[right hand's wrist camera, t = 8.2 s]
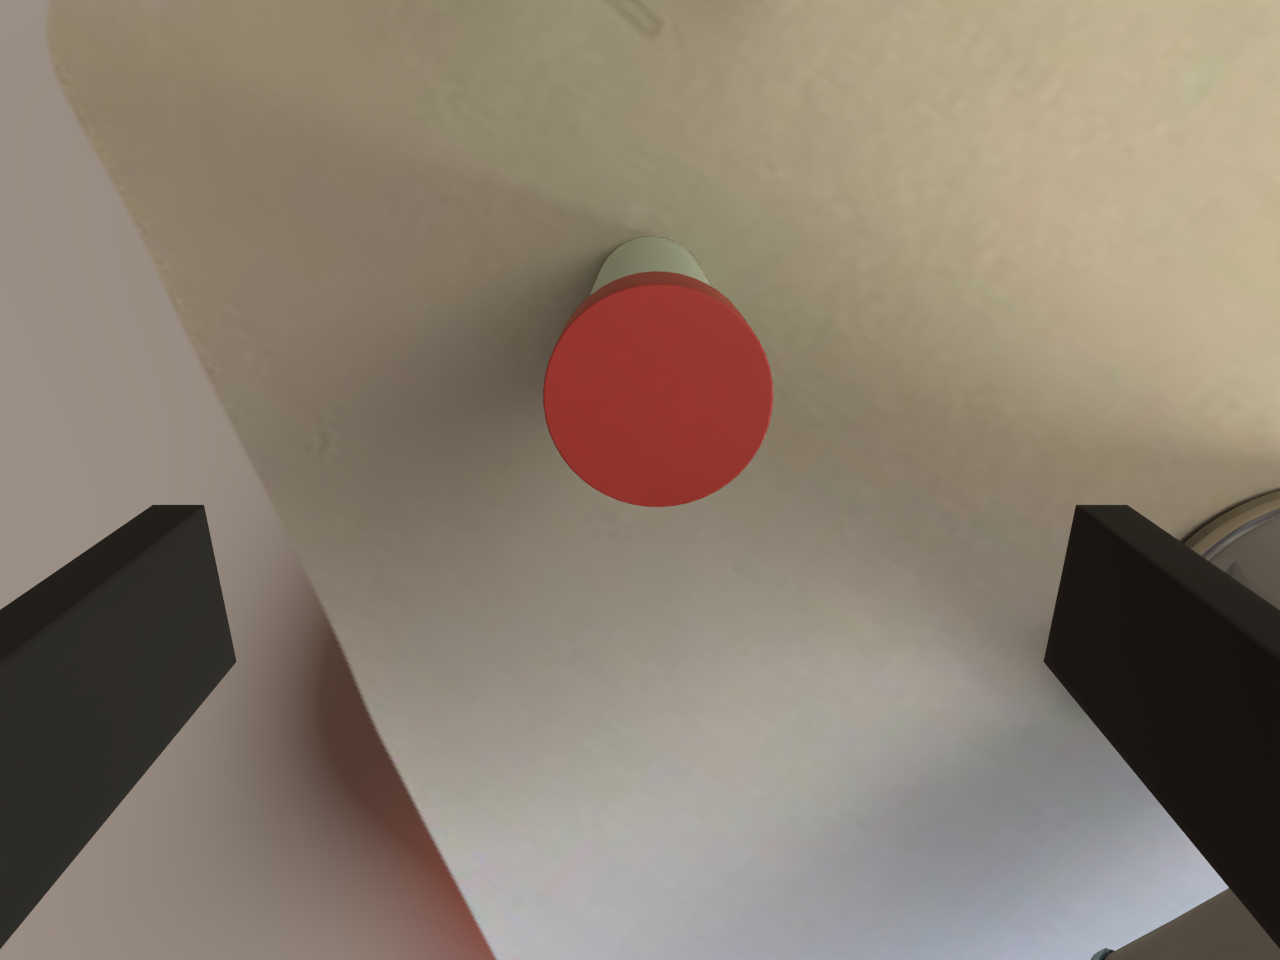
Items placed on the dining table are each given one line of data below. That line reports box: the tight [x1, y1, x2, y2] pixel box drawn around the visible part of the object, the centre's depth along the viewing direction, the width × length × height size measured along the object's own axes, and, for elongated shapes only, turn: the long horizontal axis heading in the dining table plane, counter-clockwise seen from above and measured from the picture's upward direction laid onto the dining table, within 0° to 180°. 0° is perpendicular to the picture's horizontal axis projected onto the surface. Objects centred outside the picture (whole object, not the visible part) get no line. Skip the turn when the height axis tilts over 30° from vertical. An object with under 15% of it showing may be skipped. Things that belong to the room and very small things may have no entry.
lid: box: [543, 271, 773, 507], centre depth 19 cm, size 5×5×2 cm
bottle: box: [590, 237, 712, 295], centre depth 26 cm, size 5×5×17 cm
